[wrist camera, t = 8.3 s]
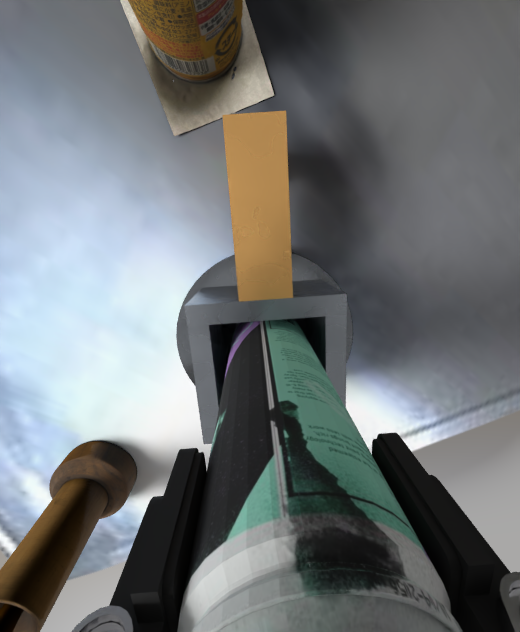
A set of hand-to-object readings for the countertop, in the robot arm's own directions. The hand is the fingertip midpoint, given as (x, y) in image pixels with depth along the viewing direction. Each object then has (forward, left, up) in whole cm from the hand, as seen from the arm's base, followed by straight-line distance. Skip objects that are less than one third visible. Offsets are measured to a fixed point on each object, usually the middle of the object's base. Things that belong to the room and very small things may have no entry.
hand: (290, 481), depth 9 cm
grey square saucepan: (0, -3, -15) cm, 15 cm away
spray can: (0, 0, -13) cm, 13 cm away
